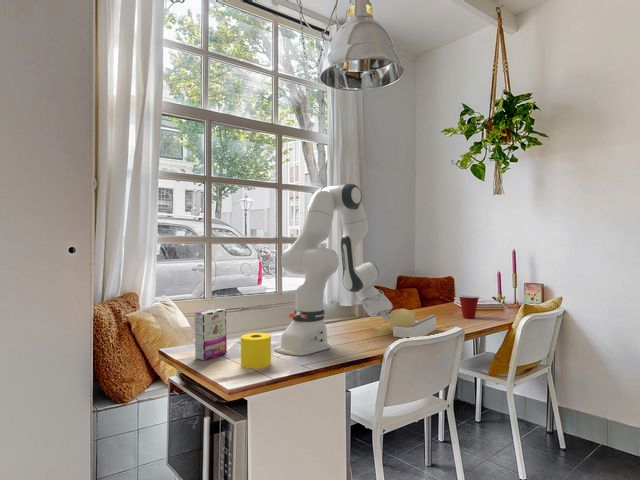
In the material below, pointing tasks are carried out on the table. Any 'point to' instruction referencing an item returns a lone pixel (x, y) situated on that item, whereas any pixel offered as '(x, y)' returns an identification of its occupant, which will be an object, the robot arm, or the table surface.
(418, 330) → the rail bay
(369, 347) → the table surface
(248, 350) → the yellow toilet paper roll
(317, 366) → the table surface
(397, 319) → the sculpture
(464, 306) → the plastic cup
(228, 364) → the table surface
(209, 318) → the candy bar box
